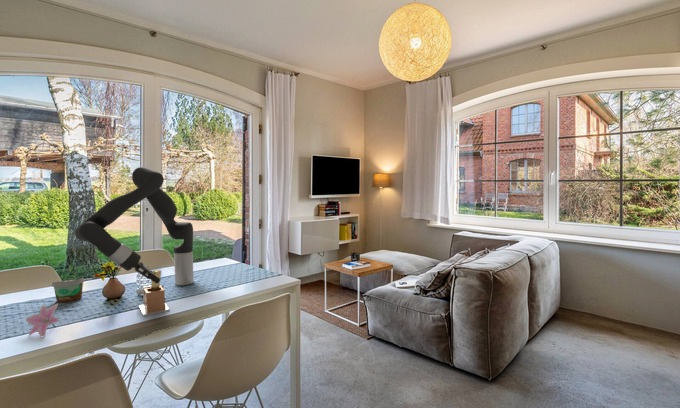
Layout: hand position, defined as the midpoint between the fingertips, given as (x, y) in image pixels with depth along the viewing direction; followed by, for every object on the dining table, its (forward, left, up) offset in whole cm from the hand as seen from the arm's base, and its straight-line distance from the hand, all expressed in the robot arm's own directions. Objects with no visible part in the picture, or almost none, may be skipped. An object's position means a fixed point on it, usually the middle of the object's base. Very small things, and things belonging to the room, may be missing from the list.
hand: (157, 279), depth 150 cm
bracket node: (-3, -1, -14) cm, 14 cm away
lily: (-2, -38, -14) cm, 41 cm away
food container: (-37, -31, -14) cm, 50 cm away
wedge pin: (0, -1, -7) cm, 7 cm away
